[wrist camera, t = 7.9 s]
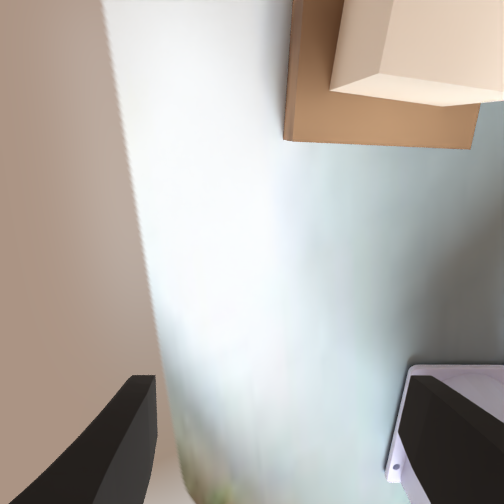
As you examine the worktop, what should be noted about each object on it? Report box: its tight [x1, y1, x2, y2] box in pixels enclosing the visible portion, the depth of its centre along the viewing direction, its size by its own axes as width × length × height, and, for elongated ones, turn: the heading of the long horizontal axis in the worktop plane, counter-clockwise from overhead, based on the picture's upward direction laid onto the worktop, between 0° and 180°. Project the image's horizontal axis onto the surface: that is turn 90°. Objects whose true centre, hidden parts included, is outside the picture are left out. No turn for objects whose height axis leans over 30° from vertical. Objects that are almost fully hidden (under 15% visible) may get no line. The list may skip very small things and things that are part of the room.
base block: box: [283, 0, 481, 149], centre depth 16 cm, size 8×8×3 cm
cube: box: [329, 0, 504, 107], centre depth 12 cm, size 5×5×5 cm
